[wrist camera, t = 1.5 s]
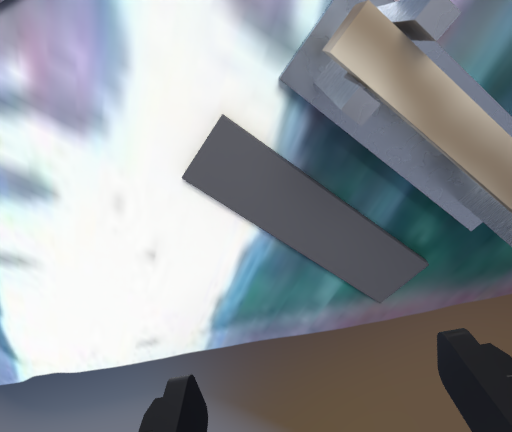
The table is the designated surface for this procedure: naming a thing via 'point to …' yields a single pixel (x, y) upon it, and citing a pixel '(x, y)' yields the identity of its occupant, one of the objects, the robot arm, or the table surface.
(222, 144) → the rubber mat
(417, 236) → the table surface
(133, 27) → the table surface
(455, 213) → the hook rack
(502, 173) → the birch rail
